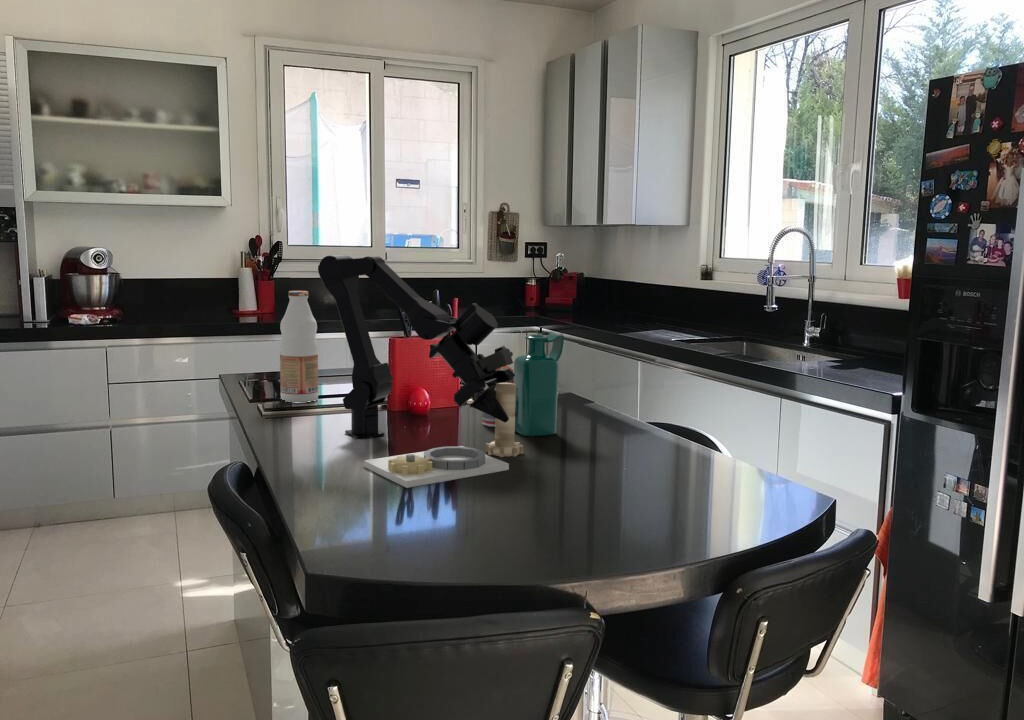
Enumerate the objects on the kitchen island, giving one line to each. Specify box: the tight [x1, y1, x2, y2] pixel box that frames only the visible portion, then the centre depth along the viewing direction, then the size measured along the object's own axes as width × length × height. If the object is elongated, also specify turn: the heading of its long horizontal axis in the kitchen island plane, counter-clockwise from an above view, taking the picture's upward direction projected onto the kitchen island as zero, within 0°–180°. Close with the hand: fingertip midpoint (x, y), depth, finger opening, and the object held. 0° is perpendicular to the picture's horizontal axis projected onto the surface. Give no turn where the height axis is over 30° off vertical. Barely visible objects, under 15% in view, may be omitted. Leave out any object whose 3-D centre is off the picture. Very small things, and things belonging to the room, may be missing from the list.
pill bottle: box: [482, 412, 495, 428], centre depth 202 cm, size 5×5×9 cm
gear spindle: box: [485, 383, 524, 458], centre depth 177 cm, size 8×8×14 cm
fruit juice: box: [279, 290, 319, 402], centre depth 223 cm, size 9×9×28 cm
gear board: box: [363, 445, 510, 489], centre depth 164 cm, size 16×22×4 cm
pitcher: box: [513, 332, 565, 437], centre depth 195 cm, size 10×8×22 cm
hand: (511, 418), depth 176 cm, fingers closed on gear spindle, 4 cm apart
